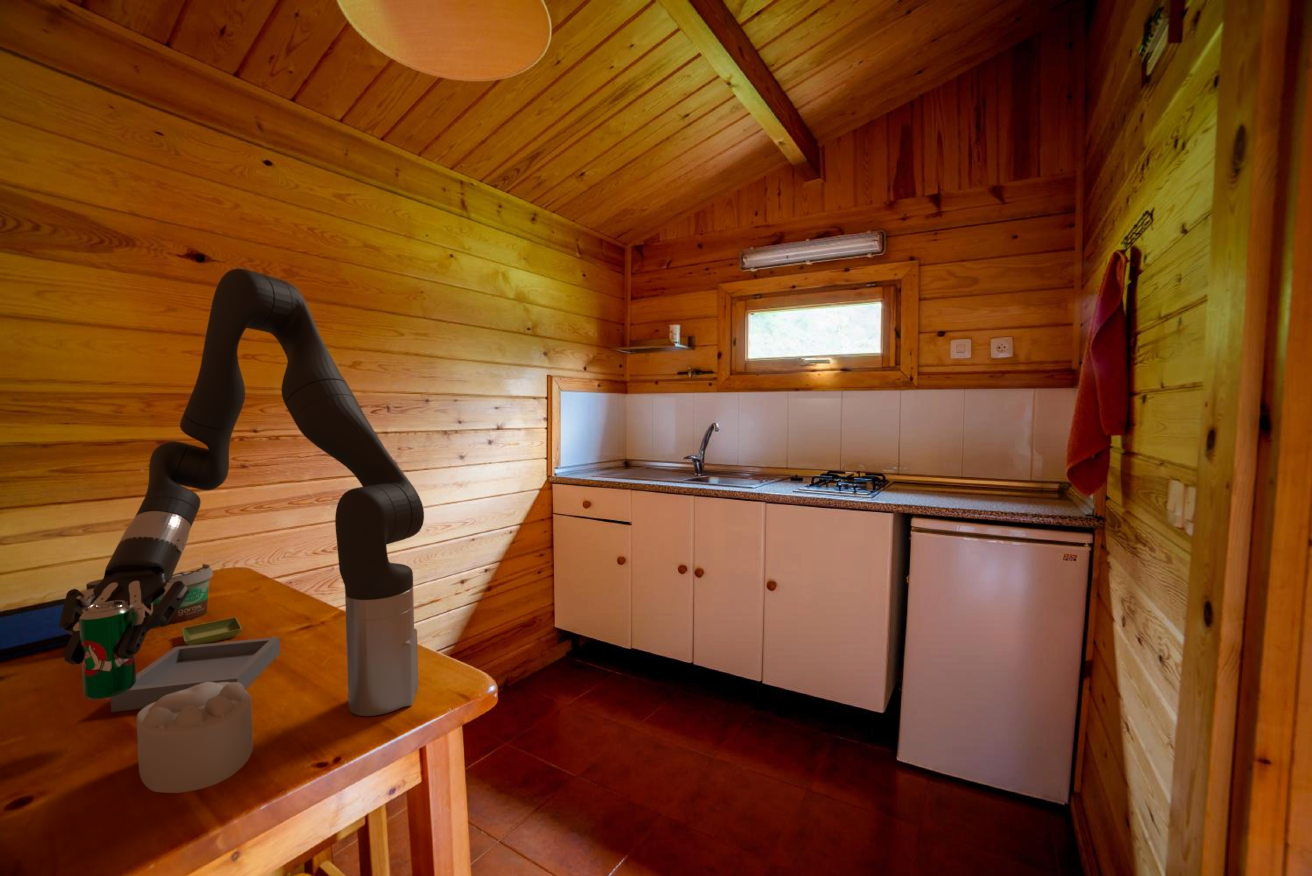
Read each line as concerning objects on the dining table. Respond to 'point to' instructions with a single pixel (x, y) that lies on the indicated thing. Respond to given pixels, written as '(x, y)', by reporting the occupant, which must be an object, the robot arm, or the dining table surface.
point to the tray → (198, 669)
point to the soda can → (105, 649)
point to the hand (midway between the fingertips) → (98, 659)
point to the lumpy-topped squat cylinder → (194, 737)
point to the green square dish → (211, 631)
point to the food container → (191, 594)
